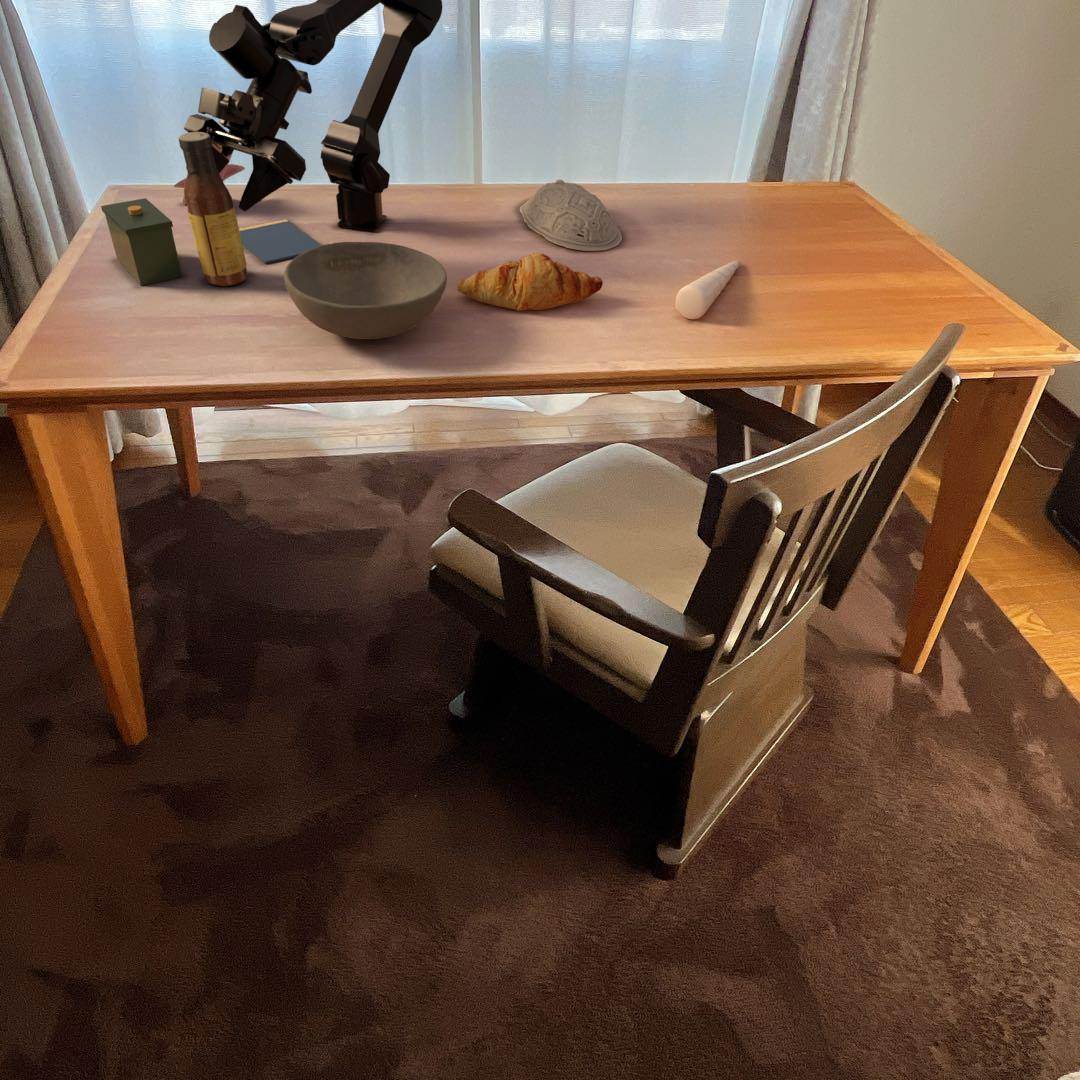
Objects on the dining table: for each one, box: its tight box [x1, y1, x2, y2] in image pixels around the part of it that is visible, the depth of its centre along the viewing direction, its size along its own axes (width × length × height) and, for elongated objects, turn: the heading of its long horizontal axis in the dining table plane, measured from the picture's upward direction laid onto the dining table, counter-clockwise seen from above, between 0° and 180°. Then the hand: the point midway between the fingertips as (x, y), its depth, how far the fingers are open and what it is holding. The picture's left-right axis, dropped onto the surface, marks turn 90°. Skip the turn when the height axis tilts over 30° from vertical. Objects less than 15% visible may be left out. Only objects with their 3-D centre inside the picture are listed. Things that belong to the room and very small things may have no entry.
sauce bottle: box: [178, 132, 248, 287], centre depth 121 cm, size 6×6×20 cm
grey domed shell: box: [519, 178, 623, 252], centre depth 150 cm, size 16×25×7 cm, turn 19°
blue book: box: [239, 218, 321, 265], centre depth 139 cm, size 10×14×1 cm
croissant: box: [456, 252, 604, 311], centre depth 126 cm, size 21×10×8 cm, turn 97°
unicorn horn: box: [674, 259, 740, 320], centre depth 132 cm, size 5×24×5 cm, turn 149°
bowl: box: [283, 241, 448, 340], centre depth 117 cm, size 21×21×8 cm
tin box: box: [100, 198, 183, 286], centre depth 126 cm, size 6×10×9 cm, turn 38°
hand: (218, 201), depth 122 cm, fingers open, 9 cm apart
